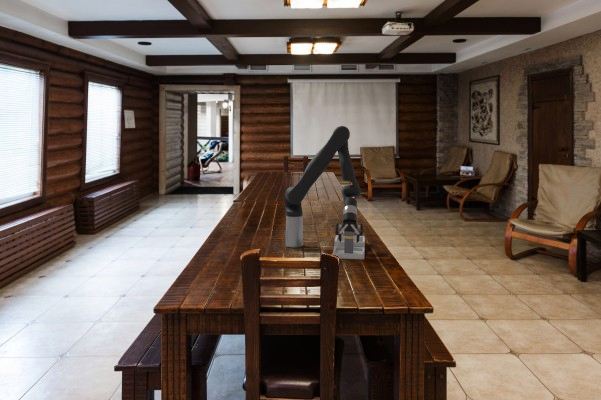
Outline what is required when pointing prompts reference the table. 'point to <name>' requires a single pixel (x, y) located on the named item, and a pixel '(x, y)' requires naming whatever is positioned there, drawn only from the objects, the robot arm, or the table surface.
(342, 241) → the case
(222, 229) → the table surface
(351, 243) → the module
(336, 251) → the lid
